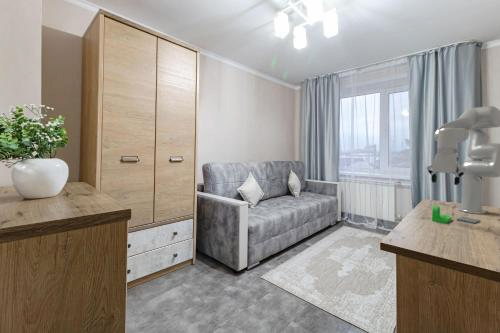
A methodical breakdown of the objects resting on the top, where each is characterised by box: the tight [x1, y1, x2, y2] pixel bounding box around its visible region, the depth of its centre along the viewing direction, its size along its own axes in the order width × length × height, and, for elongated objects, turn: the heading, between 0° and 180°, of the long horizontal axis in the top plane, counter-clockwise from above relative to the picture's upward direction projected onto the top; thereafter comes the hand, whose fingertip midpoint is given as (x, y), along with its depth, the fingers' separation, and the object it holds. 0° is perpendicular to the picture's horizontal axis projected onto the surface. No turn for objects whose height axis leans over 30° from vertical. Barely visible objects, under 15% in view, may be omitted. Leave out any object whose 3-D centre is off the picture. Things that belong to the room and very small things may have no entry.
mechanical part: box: [431, 205, 452, 225], centre depth 124 cm, size 12×6×8 cm, turn 127°
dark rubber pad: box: [456, 216, 481, 225], centre depth 123 cm, size 8×7×1 cm
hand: (444, 183), depth 123 cm, fingers open, 9 cm apart
